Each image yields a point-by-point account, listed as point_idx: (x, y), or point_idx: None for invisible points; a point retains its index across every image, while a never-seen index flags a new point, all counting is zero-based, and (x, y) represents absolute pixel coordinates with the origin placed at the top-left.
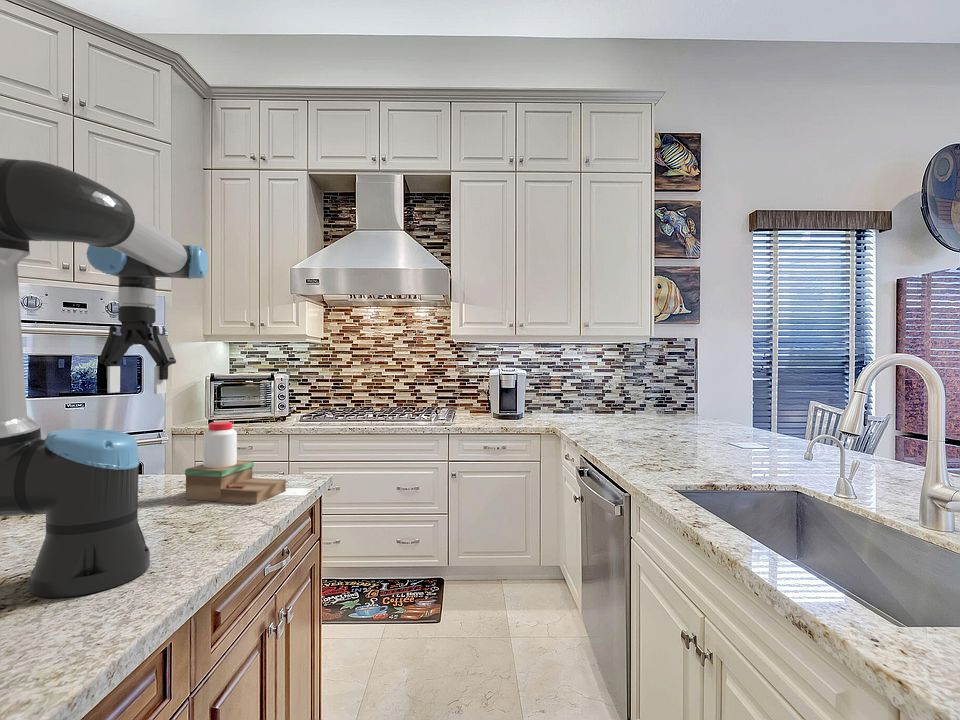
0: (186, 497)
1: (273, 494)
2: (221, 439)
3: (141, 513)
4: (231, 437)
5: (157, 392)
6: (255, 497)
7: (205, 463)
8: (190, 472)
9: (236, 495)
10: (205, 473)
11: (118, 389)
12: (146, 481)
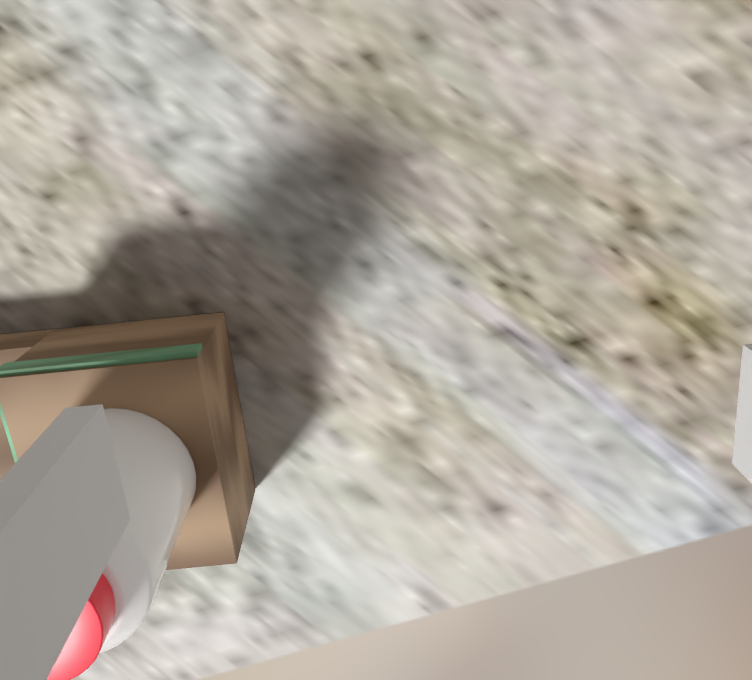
0: (218, 314)
1: None
2: None
3: (199, 94)
4: None
5: (58, 422)
6: None
7: (126, 419)
8: (166, 351)
9: None
10: (79, 358)
11: (750, 462)
12: (640, 465)
